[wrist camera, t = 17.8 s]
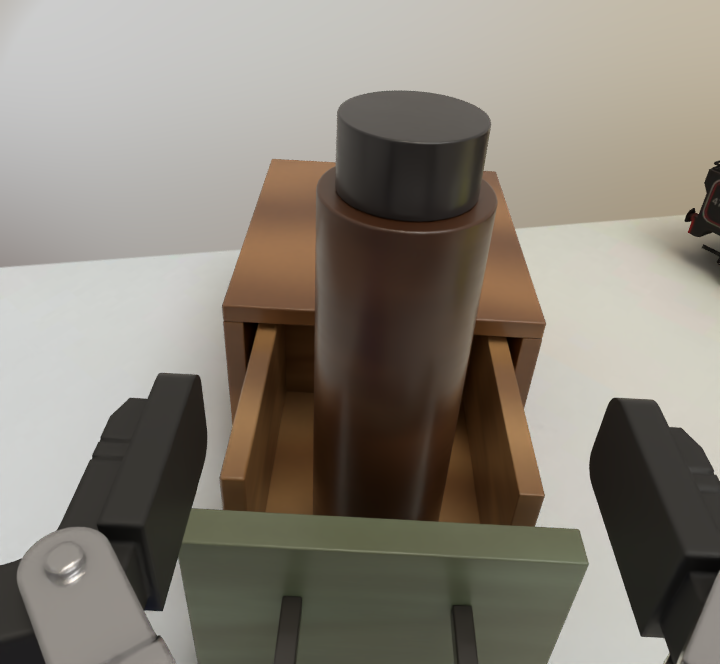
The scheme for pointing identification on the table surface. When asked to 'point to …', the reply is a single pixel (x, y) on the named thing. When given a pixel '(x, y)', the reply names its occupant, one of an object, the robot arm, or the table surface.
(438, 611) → the drawer
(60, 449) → the table surface
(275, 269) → the cabinet
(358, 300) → the pepper mill
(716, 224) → the toy train
